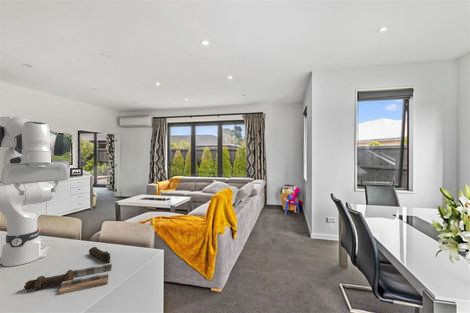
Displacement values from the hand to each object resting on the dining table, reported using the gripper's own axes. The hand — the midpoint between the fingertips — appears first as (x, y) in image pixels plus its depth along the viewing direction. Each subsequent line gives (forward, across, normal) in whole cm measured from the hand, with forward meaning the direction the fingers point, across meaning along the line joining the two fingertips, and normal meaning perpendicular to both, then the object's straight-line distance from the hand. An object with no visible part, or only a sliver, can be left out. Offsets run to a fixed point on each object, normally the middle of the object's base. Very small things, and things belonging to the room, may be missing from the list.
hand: (38, 193), depth 87 cm
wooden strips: (+38, -16, +1) cm, 41 cm away
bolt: (+38, -3, -2) cm, 38 cm away
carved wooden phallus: (+37, -23, -18) cm, 47 cm away
